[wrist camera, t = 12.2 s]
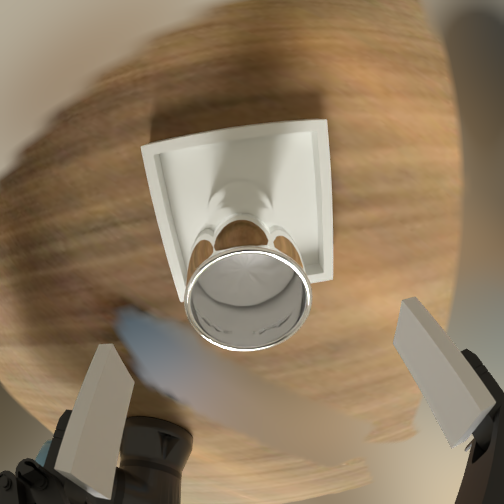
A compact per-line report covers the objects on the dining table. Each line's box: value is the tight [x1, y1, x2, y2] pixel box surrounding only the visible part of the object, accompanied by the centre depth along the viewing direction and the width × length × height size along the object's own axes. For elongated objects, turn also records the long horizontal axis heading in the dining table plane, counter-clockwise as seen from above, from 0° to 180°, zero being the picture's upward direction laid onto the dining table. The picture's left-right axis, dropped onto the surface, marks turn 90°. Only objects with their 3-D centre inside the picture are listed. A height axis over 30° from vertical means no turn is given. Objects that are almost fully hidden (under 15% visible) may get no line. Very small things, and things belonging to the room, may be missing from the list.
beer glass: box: [184, 181, 312, 351], centre depth 21 cm, size 7×7×15 cm
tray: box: [141, 119, 333, 302], centre depth 28 cm, size 16×16×3 cm
